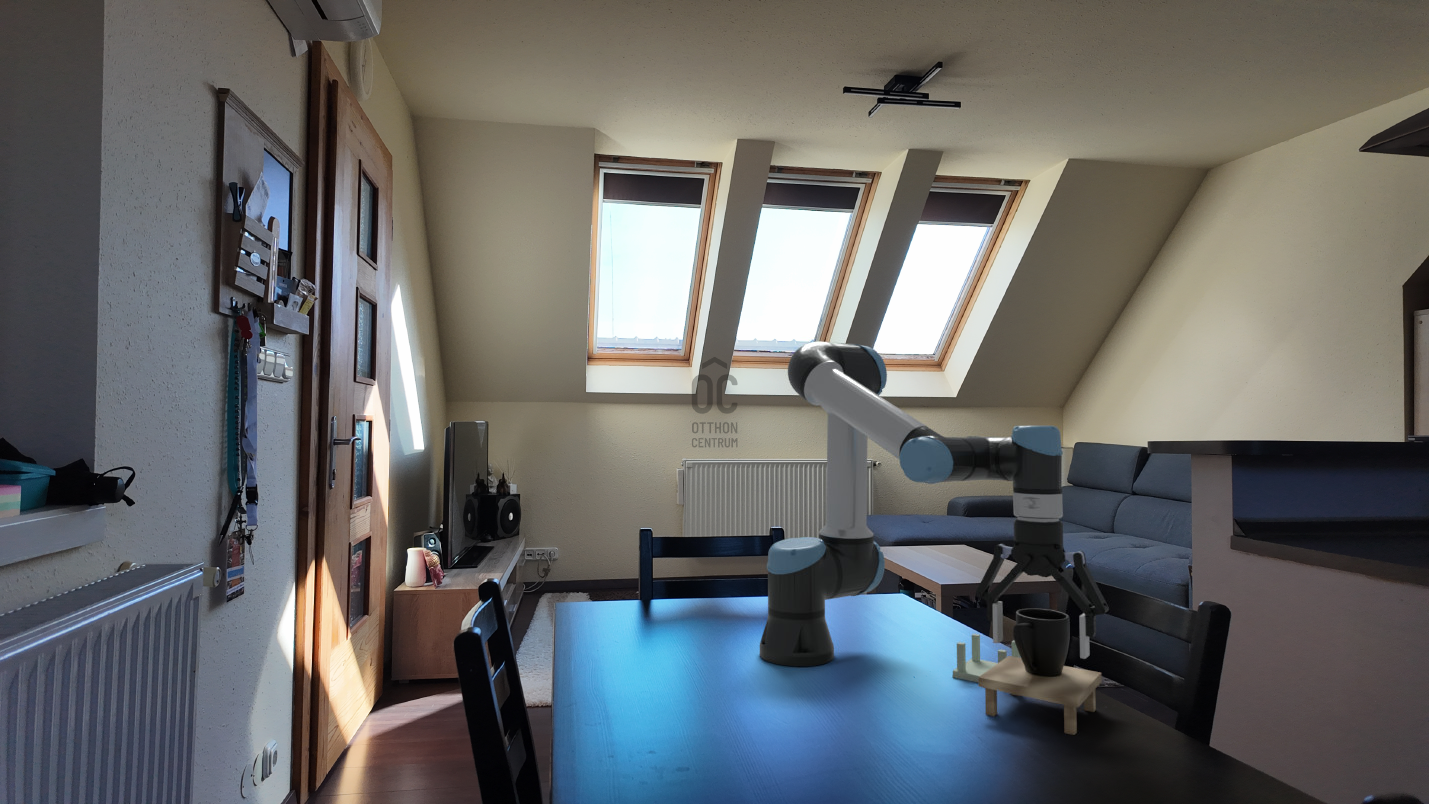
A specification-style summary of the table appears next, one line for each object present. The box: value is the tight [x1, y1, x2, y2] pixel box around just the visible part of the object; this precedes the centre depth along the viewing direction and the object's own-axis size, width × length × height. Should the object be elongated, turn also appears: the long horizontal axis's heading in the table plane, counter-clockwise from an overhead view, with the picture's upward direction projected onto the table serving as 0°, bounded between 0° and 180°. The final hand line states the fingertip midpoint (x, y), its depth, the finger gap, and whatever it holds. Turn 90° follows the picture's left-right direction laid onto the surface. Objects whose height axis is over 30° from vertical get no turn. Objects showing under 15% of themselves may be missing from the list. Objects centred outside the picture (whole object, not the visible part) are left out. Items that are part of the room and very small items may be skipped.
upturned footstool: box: [952, 633, 1021, 684], centre depth 143 cm, size 10×10×6 cm
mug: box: [1012, 607, 1071, 677], centre depth 125 cm, size 8×12×10 cm
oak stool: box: [978, 655, 1102, 736], centre depth 124 cm, size 15×15×6 cm
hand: (1040, 648), depth 125 cm, fingers open, 13 cm apart
